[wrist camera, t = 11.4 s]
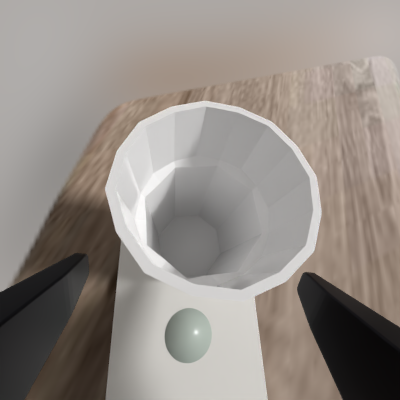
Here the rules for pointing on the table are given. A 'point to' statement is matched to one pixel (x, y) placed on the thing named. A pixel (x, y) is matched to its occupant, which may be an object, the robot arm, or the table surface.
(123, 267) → the indicator panel
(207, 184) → the cup
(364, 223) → the table surface
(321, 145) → the table surface
